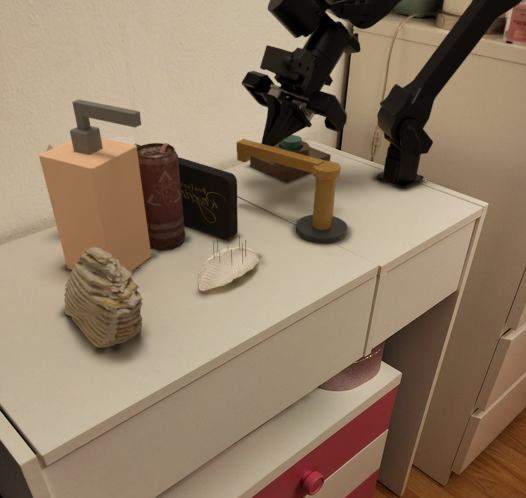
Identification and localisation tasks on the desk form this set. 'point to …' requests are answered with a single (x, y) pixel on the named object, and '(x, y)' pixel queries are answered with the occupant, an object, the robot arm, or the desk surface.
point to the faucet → (322, 217)
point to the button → (291, 143)
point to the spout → (288, 159)
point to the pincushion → (226, 266)
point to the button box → (285, 171)
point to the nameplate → (208, 199)
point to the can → (161, 194)
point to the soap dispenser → (98, 189)
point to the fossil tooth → (103, 299)
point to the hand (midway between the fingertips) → (264, 147)
